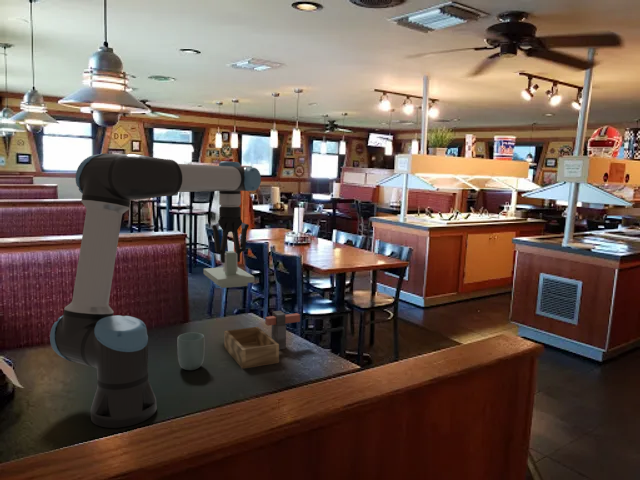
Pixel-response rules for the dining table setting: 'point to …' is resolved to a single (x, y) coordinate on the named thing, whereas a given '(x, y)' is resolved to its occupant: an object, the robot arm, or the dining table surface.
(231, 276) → the lid
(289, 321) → the red bar
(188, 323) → the dining table surface
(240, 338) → the wooden box
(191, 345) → the cup
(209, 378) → the dining table surface
